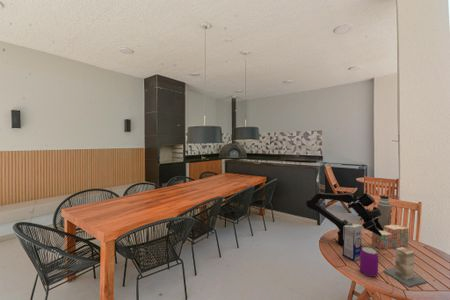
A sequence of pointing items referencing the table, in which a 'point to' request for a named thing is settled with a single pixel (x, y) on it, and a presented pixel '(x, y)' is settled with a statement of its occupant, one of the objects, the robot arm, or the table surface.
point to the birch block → (404, 263)
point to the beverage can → (369, 261)
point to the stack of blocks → (391, 237)
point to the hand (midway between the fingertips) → (382, 233)
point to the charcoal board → (408, 282)
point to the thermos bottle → (384, 211)
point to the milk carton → (352, 241)
